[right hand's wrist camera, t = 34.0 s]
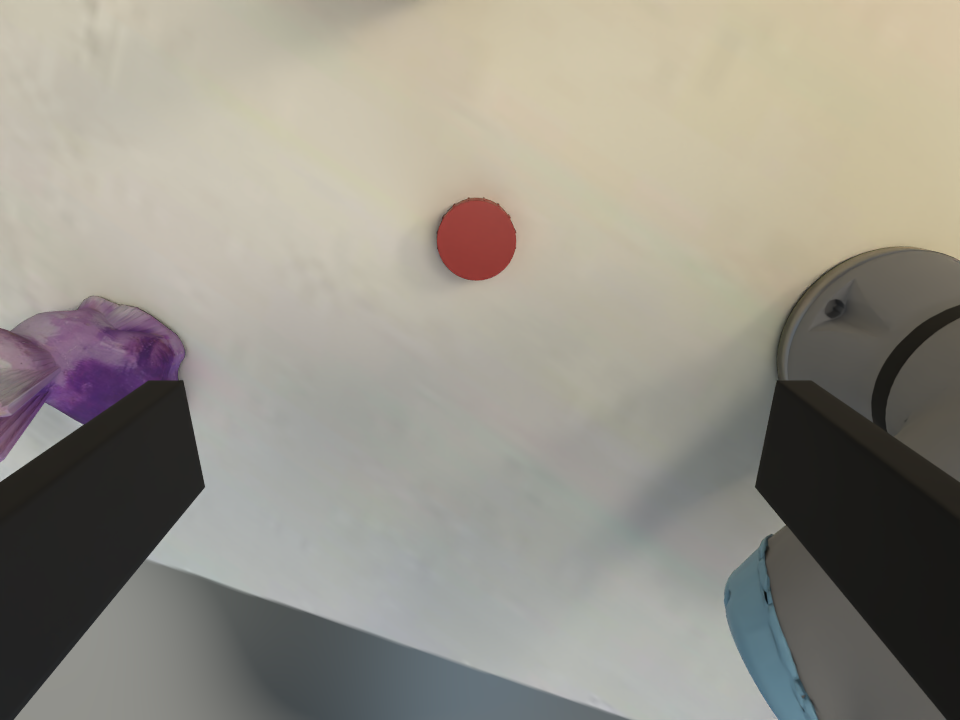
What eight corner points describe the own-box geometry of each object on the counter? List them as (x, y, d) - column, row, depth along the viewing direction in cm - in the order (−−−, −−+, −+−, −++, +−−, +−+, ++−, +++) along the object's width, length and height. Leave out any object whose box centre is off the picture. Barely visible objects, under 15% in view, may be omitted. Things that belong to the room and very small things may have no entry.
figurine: (43, 290, 42) (-177, 359, 28) (178, 292, 42) (26, 362, 28) (73, 403, 45) (-110, 515, 31) (198, 405, 45) (72, 518, 31)
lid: (515, 197, 40) (517, 199, 37) (513, 273, 42) (515, 280, 39) (437, 197, 40) (435, 200, 37) (440, 274, 42) (437, 281, 39)
